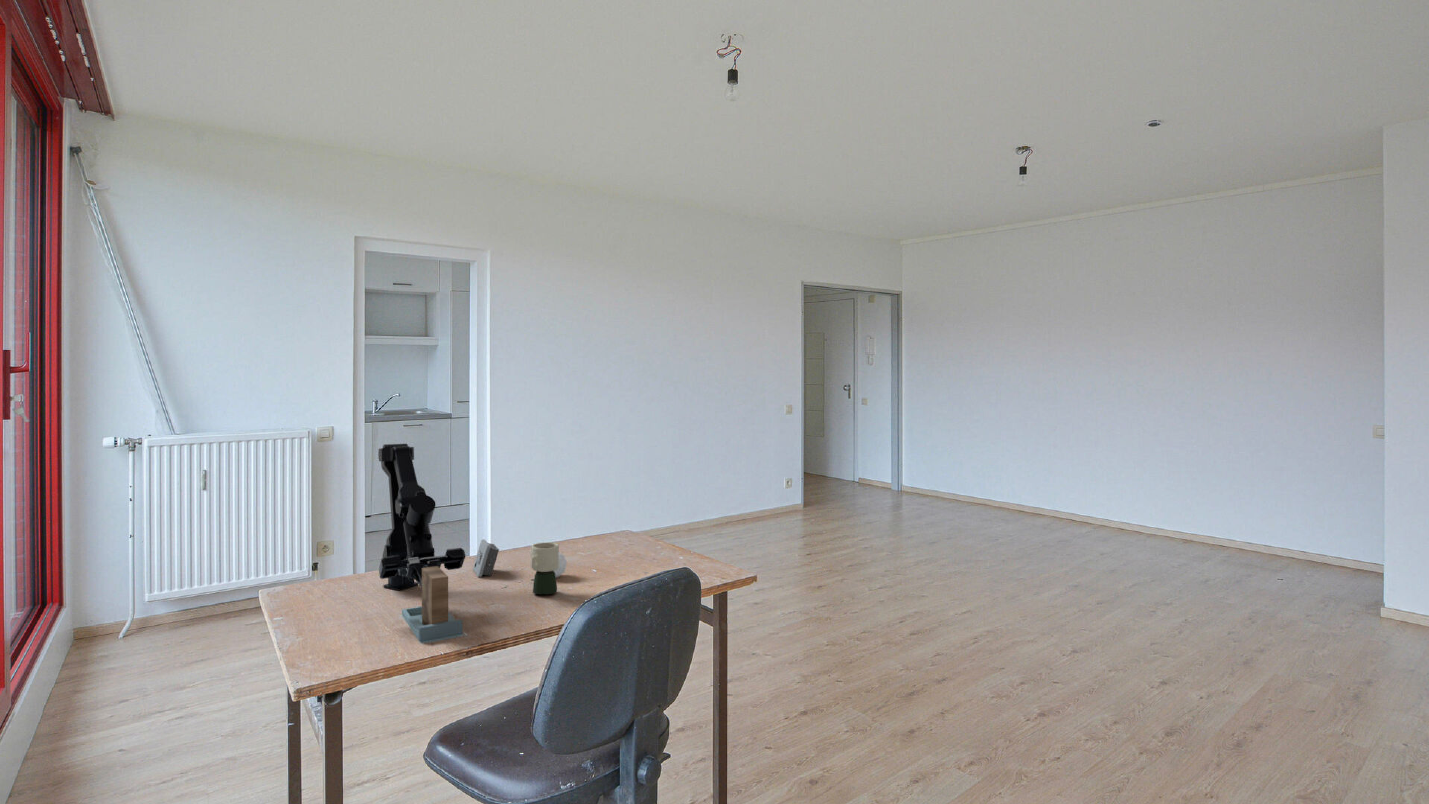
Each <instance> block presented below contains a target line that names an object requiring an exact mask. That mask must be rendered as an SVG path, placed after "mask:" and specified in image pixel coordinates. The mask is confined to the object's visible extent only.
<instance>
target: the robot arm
mask: <svg viewBox="0 0 1429 804" xmlns="http://www.w3.org/2000/svg"><path fill="white" fill-rule="evenodd" d="M377 453H378V454H377V455H378V457H377V458H378V461H379V462H381V463H380V467H381V469H382V471H383V472H384V473H385V475H387V477H388V488H389V501H390V502H389V503H390V518H391V530H390V532H389V534H388V536H387V538H386V544H385V545H384V548H383V552H382V558H381V559H380V564H379V568H378V572H379V575H378V576H379V579H382V580H384V579H387V580H388V581H387V583H386V584H383V585H382V588H385V589H390V590H396V591H402V590H406V589H408V588H411V587H415V586H418V585H419V587H420V588H421V589H422V568H426V567H434V566H438V567H439V568H440V569H441V566H442V565H443V566H444V569H446V570H448V571H451V570H458V569H461V568H462V567H463V565H464V561H465V559H466V557H467V556H466V552H465V550H464V549H463V548H462V547H456V548H455V547H454V548H448V549H446V551H445V554H444V555H435V547H434V545H433V540H432V539H433V536H432V533H431V529H430V525H429V524H431V523H432V519H433V516H434V512H435V508H436V501H435V500H434V499H433V497H431V496H430V495H427V493H426V490H425V488H423V487H422V486H420V485H419V483H418V480H417V475H416V471H415V466H414V461H415V447H414V446H409V445H408V444H407V443H392V444H391V443H387V444H383V445H382V447H381V448H378V452H377ZM413 460H414V461H413Z"/></svg>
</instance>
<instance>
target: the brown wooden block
mask: <svg viewBox="0 0 1429 804" xmlns="http://www.w3.org/2000/svg"><path fill="white" fill-rule="evenodd" d="M421 606H422V624H423V625H429V624H435V623H441V622H447V621H448V612H449V576H448V574H446V573H445V572H444V571H443V569H441V567H440V568H439V567H438V566H434V567H426V568H422V588H421Z"/></svg>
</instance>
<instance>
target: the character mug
mask: <svg viewBox="0 0 1429 804" xmlns="http://www.w3.org/2000/svg"><path fill="white" fill-rule="evenodd" d="M559 547H560V546H559V544H558V543H556V542H550V541H549V542H536V543H534V544H532V545H531V554H530V556H531V563H530V567H531V569H532V570H533V571H536V572H535V574H534V579H533V585H532V586H533V587H532V593H533V594H535V595H536V594H537V595H538V594H539V595H541V596H543V595H551V594H552V595H553V594H555V593H557V592H558V585H557V583H558V582H557V578H556V576H555V572H554V571H553V570H556V569H558V566H559V551H560V550H559V549H560V548H559Z"/></svg>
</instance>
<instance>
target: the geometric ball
mask: <svg viewBox="0 0 1429 804" xmlns="http://www.w3.org/2000/svg"><path fill="white" fill-rule="evenodd" d="M567 564H568V563H567V559H566V557H565V555H564V554H563V553H561V552H559V566H558V569H556V570H553V571H554V572H555V576H556V579H558V578H559V577H561V575H562V574H564V573H565V571H566V567H567Z"/></svg>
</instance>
